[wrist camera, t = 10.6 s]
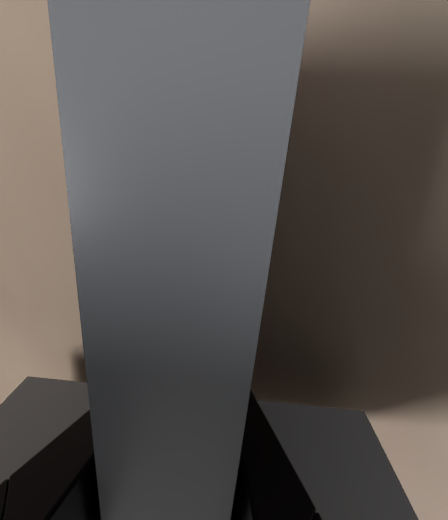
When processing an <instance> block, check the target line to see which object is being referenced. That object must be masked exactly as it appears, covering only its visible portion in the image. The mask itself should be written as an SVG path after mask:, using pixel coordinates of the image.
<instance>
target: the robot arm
mask: <svg viewBox="0 0 448 520" xmlns="http://www.w3.org/2000/svg"><path fill="white" fill-rule="evenodd" d="M0 520H101V513H100V503H99V494H98V484H97V474H96V465H95V455H94V445H93V436H92V426H91V416H90V409H89V410H88V411H87V412H85V413H84V414H83V415H82V416H81V417H79V418H78V419H77V420H76V421H75V422H73V423H72V424H71V425H70V426H69V427H68V428H66V429H65V430H64V431H63V432H62V433H60V434H59V435H58V436H57V437H56V438H54V439H53V440H52V441H51V442H50V443H48V444H47V445H46V446H45V447H44V448H42V449H41V450H40V451H39V452H38V453H36V454H35V455H34V456H33V457H32V458H30V459H29V460H28V461H27V462H26V463H24V464H23V465H22V466H21V467H20V468H19V469H17V470H16V471H15V472H14V473H13V474H11V475H10V477H9V480H8V479H5V480H4V481H3V482H2V483H0ZM230 520H322V518H321V516H320V514H319V513H318V512H316V507H315V505H314V503H313V502H312V500H311V498H310V496H309V494H308V493H307V491H306V489H305V487H304V485H303V483H302V482H301V480H300V478H299V476H298V474H297V473H296V471H295V469H294V467H293V465H292V464H291V462H290V460H289V458H288V456H287V454H286V453H285V451H284V449H283V447H282V445H281V444H280V442H279V440H278V438H277V436H276V434H275V433H274V431H273V429H272V427H271V425H270V424H269V422H268V420H267V418H266V416H265V414H264V413H263V411H262V409H261V407H260V405H259V404H258V402H257V400H256V398H255V396H254V394H253V393H252V391H251V389H250V396H249V402H248V409H247V415H246V422H245V428H244V435H243V441H242V447H241V454H240V460H239V467H238V473H237V480H236V486H235V493H234V499H233V506H232V512H231V519H230Z"/></svg>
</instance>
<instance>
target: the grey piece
mask: <svg viewBox="0 0 448 520" xmlns="http://www.w3.org/2000/svg"><path fill="white" fill-rule="evenodd" d="M309 6H310V0H48V10H49V20H50V29H51V39H52V49H53V58H54V68H55V78H56V87H57V97H58V107H59V116H60V126H61V136H62V145H63V155H64V165H65V174H66V184H67V194H68V204H69V213H70V223H71V233H72V242H73V252H74V262H75V271H76V281H77V291H78V300H79V310H80V320H81V329H82V339H83V349H84V358H85V368H86V378H87V383H86V382H77V381H67V380H57V379H47V378H38V377H27V378H26V379H25V380H24V381H23V382H22V383H21V384H20V385H19V386H18V387H17V388H16V389H15V390H14V391H13V392H12V393H11V394H10V395H9V396H8V398H7V399H6V400H5V401H4V402H3V403H2V404H1V405H0V483H2V482H3V481H4V480H5V479H8V480H9V477H10V475H11V474H13V473H14V472H15V471H16V470H17V469H19V468H20V467H21V466H22V465H23V464H24V463H26V462H27V461H28V460H29V459H30V458H32V457H33V456H34V455H35V454H36V453H38V452H39V451H40V450H41V449H42V448H44V447H45V446H46V445H47V444H48V443H50V442H51V441H52V440H53V439H54V438H56V437H57V436H58V435H59V434H60V433H62V432H63V431H64V430H65V429H66V428H68V427H69V426H70V425H71V424H72V423H73V422H75V421H76V420H77V419H78V418H79V417H81V416H82V415H83V414H84V413H85V412H87V411H88V410H89V409H90V416H91V426H92V436H93V445H94V455H95V465H96V474H97V484H98V494H99V503H100V513H101V520H230V519H231V512H232V506H233V499H234V493H235V486H236V480H237V473H238V467H239V460H240V454H241V447H242V441H243V435H244V428H245V422H246V415H247V409H248V402H249V396H250V389H251V383H252V376H253V370H254V363H255V357H256V350H257V344H258V337H259V331H260V324H261V318H262V311H263V305H264V298H265V292H266V285H267V279H268V272H269V266H270V259H271V253H272V246H273V240H274V233H275V227H276V220H277V214H278V207H279V201H280V194H281V188H282V181H283V175H284V168H285V162H286V155H287V149H288V142H289V136H290V129H291V123H292V116H293V110H294V103H295V97H296V90H297V84H298V77H299V71H300V64H301V58H302V51H303V45H304V38H305V32H306V25H307V19H308V12H309ZM257 402H258V404H259V405H260V407H261V409H262V411H263V413H264V414H265V416H266V418H267V420H268V422H269V424H270V425H271V427H272V429H273V431H274V433H275V434H276V436H277V438H278V440H279V442H280V444H281V445H282V447H283V449H284V451H285V453H286V454H287V456H288V458H289V460H290V462H291V464H292V465H293V467H294V469H295V471H296V473H297V474H298V476H299V478H300V480H301V482H302V483H303V485H304V487H305V489H306V491H307V493H308V494H309V496H310V498H311V500H312V502H313V503H314V505H315V507H316V512H318V513H319V514H320V516H321V518H322V520H418V518H417V516H416V514H415V512H414V510H413V508H412V506H411V504H410V502H409V500H408V498H407V496H406V494H405V492H404V490H403V488H402V486H401V484H400V482H399V480H398V478H397V476H396V474H395V472H394V470H393V468H392V466H391V464H390V462H389V460H388V458H387V456H386V454H385V452H384V450H383V448H382V446H381V444H380V442H379V440H378V438H377V436H376V434H375V432H374V430H373V428H372V426H371V424H370V422H369V420H368V418H367V416H366V414H365V412H364V411H359V410H350V409H340V408H330V407H320V406H311V405H301V404H291V403H281V402H272V401H262V400H257Z"/></svg>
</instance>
